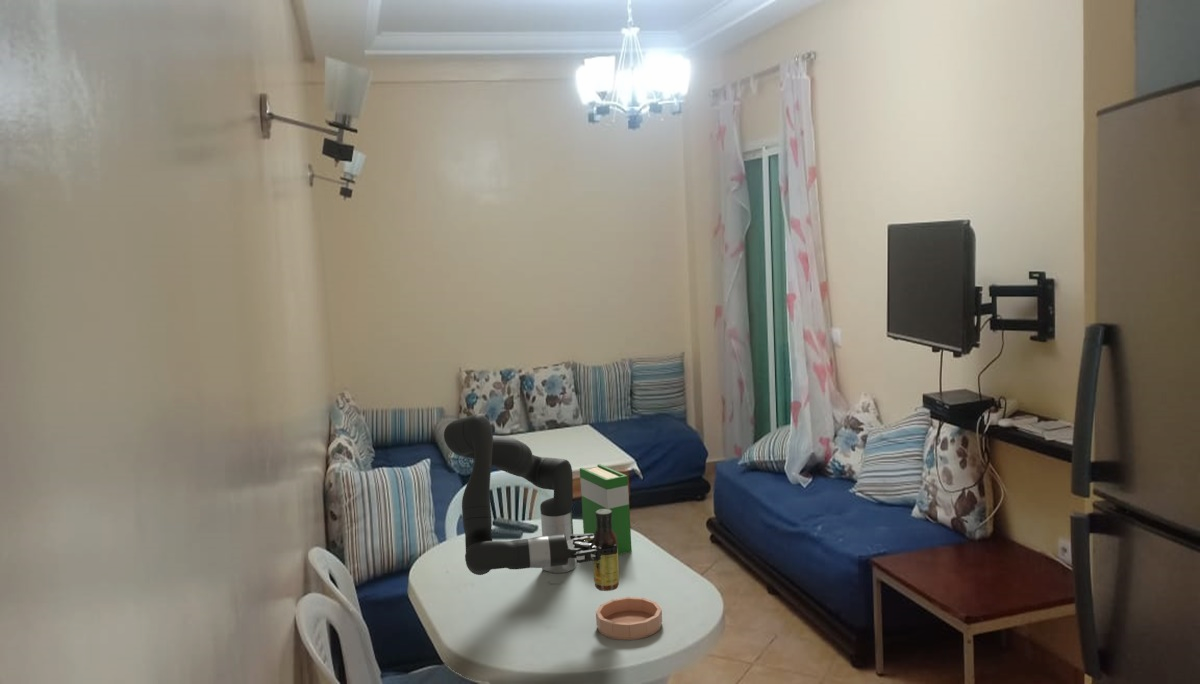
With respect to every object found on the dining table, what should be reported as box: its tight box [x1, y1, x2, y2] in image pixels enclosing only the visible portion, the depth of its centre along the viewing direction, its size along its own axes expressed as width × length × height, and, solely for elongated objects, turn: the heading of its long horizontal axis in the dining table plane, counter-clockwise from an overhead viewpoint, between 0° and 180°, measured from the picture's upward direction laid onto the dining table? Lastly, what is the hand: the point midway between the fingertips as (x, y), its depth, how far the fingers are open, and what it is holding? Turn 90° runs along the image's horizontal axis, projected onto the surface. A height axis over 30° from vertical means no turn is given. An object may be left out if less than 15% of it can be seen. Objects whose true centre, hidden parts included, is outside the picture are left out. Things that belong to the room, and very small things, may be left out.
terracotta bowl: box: [595, 596, 663, 641], centre depth 226 cm, size 16×16×4 cm
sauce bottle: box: [592, 509, 620, 592], centre depth 223 cm, size 6×6×20 cm
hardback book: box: [579, 463, 633, 556], centre depth 283 cm, size 18×7×24 cm, turn 28°
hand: (614, 544), depth 223 cm, fingers closed on sauce bottle, 6 cm apart
